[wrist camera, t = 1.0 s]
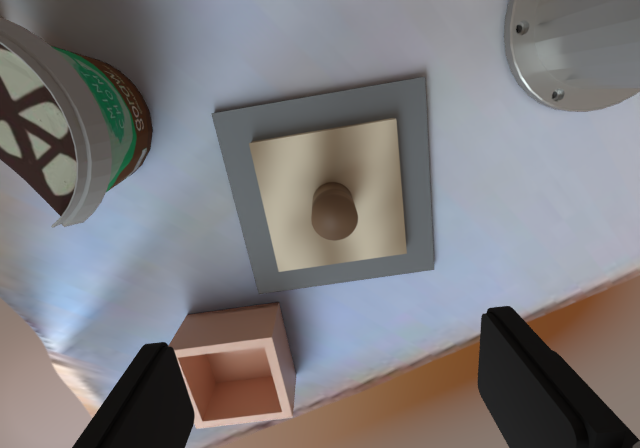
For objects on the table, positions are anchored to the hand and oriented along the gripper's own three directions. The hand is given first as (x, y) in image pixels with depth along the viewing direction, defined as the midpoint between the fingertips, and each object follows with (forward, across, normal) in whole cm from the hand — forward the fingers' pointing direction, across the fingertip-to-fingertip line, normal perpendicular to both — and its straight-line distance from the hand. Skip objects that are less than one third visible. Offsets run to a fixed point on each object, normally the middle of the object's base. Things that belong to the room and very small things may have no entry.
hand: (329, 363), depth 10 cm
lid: (+19, -1, 0) cm, 19 cm away
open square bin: (+20, +10, +15) cm, 26 cm away
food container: (+20, +14, -9) cm, 26 cm away
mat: (+19, -1, 0) cm, 19 cm away
